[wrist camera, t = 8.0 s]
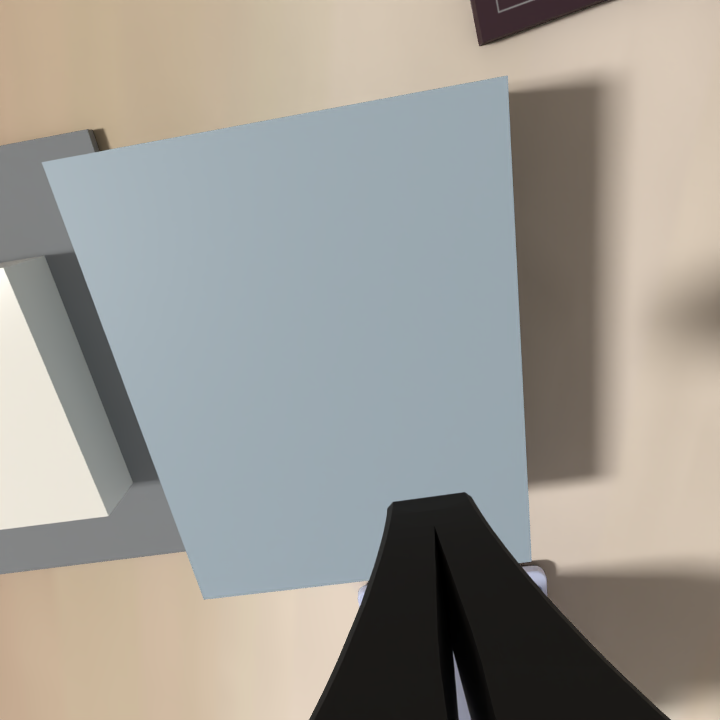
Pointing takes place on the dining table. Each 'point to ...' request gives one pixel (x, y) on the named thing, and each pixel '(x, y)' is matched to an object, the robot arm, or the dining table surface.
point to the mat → (145, 496)
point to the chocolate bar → (519, 15)
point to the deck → (314, 325)
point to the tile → (49, 410)
